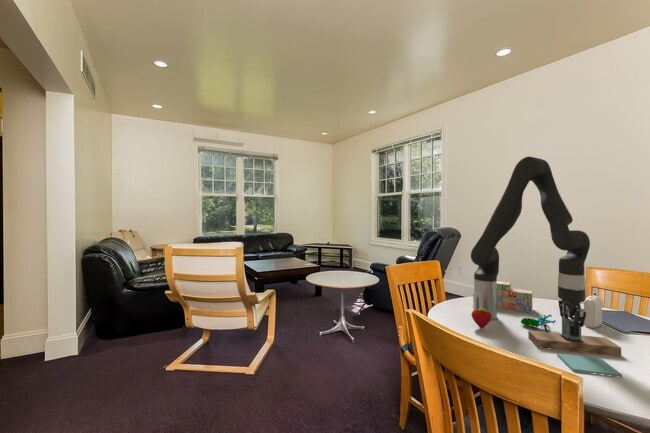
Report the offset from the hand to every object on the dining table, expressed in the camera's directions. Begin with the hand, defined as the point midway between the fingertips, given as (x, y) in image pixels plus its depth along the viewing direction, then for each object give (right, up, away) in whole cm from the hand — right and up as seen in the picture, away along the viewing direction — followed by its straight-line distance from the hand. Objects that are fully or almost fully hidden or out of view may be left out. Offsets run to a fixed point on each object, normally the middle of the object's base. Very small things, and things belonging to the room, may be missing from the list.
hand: (571, 333), depth 104 cm
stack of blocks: (+5, -5, +44) cm, 45 cm away
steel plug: (0, -5, 0) cm, 5 cm away
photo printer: (+26, -4, +19) cm, 33 cm away
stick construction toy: (0, -5, +16) cm, 17 cm away
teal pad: (-6, -5, -13) cm, 15 cm away
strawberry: (-23, -5, +17) cm, 29 cm away
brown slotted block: (0, -5, 0) cm, 5 cm away
